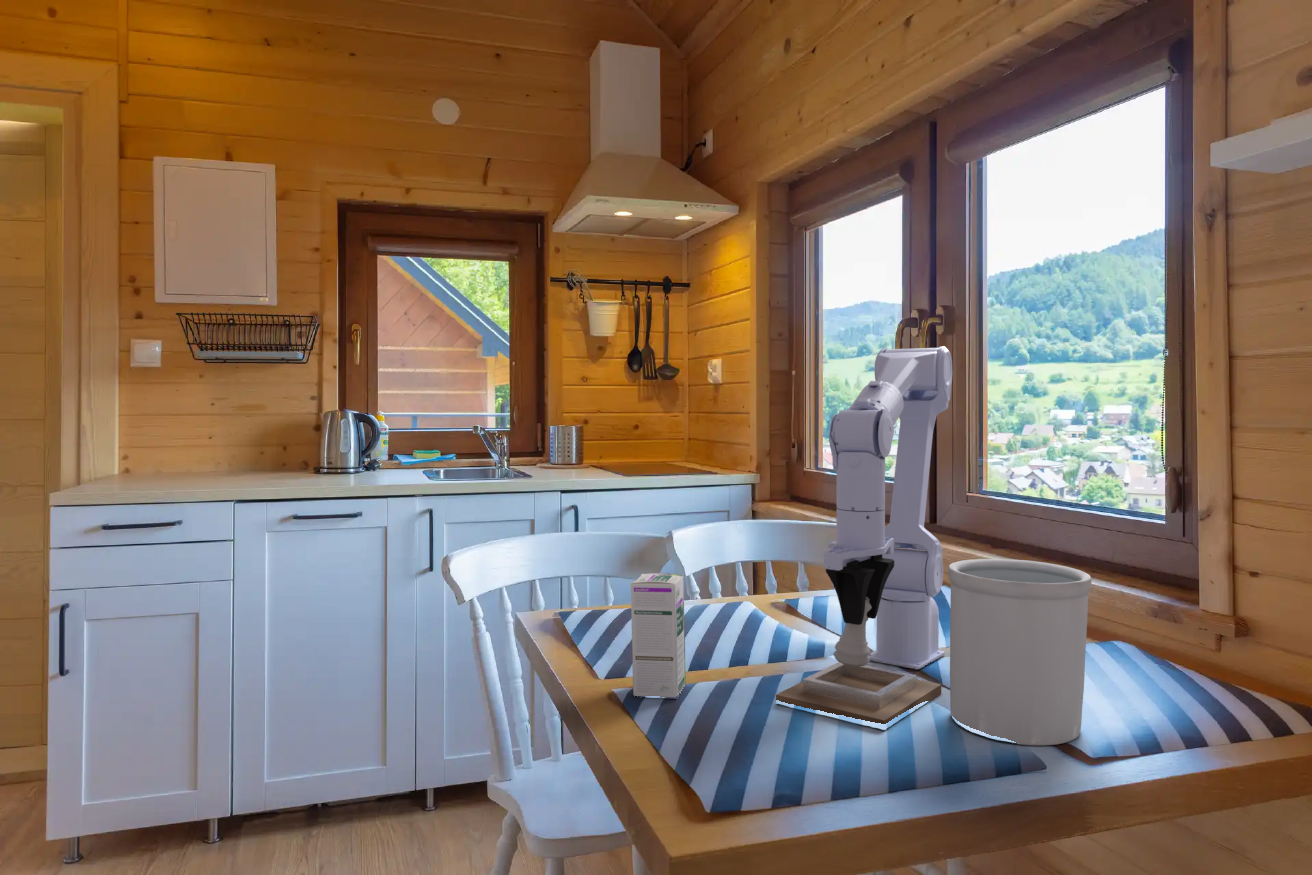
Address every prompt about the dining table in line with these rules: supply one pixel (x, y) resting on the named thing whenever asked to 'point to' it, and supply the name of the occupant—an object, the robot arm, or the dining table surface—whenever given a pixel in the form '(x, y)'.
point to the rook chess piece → (854, 643)
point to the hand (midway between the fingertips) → (860, 620)
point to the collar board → (860, 692)
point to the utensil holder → (1018, 648)
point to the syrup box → (658, 635)
